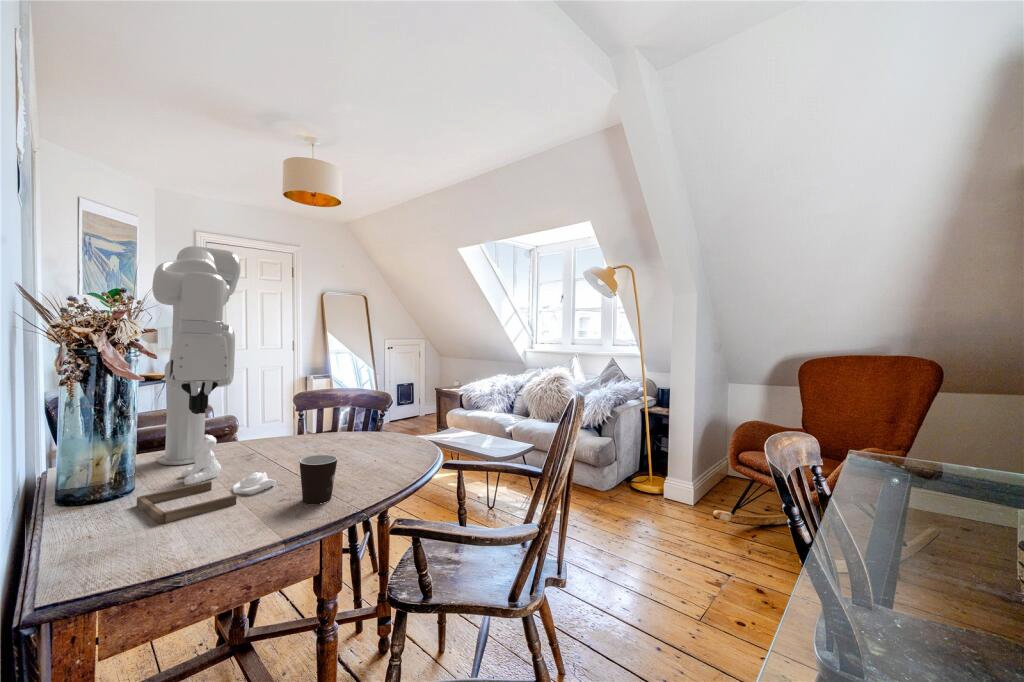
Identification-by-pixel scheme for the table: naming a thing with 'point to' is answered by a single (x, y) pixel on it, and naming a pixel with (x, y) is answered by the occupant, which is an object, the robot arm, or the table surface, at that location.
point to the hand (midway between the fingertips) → (198, 412)
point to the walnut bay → (164, 517)
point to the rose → (253, 484)
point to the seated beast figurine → (203, 463)
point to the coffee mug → (317, 478)
